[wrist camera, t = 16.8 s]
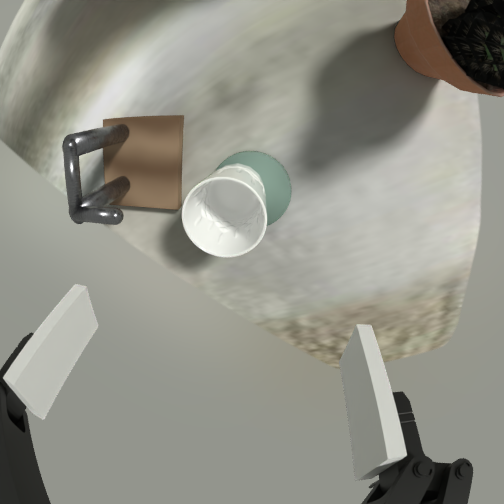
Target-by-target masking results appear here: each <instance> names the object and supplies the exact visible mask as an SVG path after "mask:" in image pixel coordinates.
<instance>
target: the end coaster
mask: <svg viewBox="0 0 504 504" xmlns="http://www.w3.org/2000/svg"><path fill="white" fill-rule="evenodd" d="M236 163H239V164H243V165H246V166H250V167H251V168H252V169H253V170H255V171H256V172H257V173H258V174H259V175H260V177H261V180H262V182H263V184H264V190H265V195H266V205H267V226H268V225H270V224H272V223H274V222H275V221H277V220H278V219H279V218H280V217H281V216H282V215H283V214H284V212H285V211H286V209H287V207H288V205H289V202H290V198H291V184H290V179H289V177H288V174H287V172H286V170H285V169H284V168H283V166H282V165H281V164H280V163H279V162H278V161H277V160H276V159H274V158H273V157H271V156H269V155H267V154H264V153H261V152H256V151H245V152H240V153H237V154H234V155H232V156H230V157H228V158H227V159H226V160H224V161H223V162H222V163H221V164H220V165H219V167H218V168H217V169H216V171H217V170H218V169H221V168H222V167H224V166H225V165H230V164H236Z"/></svg>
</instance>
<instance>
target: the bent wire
mask: <svg viewBox="0 0 504 504" xmlns="http://www.w3.org/2000/svg"><path fill="white" fill-rule="evenodd" d="M128 137H129V128H128V127H127V126H126V125H125V124H119V125H113V126H107V127H102V128H97V129H92V130H88V131H83V132H79V133H74V134H70V135H68V136H66V137H65V139H64V141H63V146H62V147H63V152H64V167H65V178H66V188H67V196H68V204H69V214H70V217H71V219H72V220H73V221H74V222H75V223H77V224H82V223H83V222H93V223H102V224H113V225H117V224H119V223H121V222H122V220H123V212H122V211H121V210H120V209H118V208H109V207H106V206H107V205H109V204H110V203H111V202H113V201H114V200H116V199H117V198H119V197H120V196H122V195H123V194H125V193H126V192H128V191H129V189H130V181H129V179H128V178H127V177H125V176H120V177H118V178H116V179H114V180H112V181H110V182H108V183H107V184H105V185H103V186H101V187H99V188H97V189H96V190H94V191H92V192H90V193H89V194H87V195H85V196H83V197H82V191H81V180H80V168H79V156H80V155H83V154H86V153H89V152H92V151H95V150H98V149H101V148H104V147H107V146H110V145H114V144H117V143H121V142H124V141H126V140H127V139H128Z"/></svg>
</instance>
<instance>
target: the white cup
mask: <svg viewBox="0 0 504 504" xmlns="http://www.w3.org/2000/svg"><path fill="white" fill-rule="evenodd" d="M182 222H183V226H184V229H185V232H186V234H187V235H188V237H189V238H190V240H191V241H192V242H193V243H194V244H195V245H196V246H197V247H198V248H200V249H201V250H203V251H204V252H206V253H208V254H211V255H214V256H218V257H236V256H240V255H243V254H245V253H247V252H249V251H250V250H252V249H253V248H254V247H255V246H256V245H257V244H258V243H259V242H260V241H261V239H262V237H263V235H264V233H265V230H266V226H267V205H266V195H265V190H264V184H263V182H262V180H261V177H260V175H259V174H258V173H257V172H256V171H255V170H253V169H252V168H251V167H250V166H246V165H243V164H239V163H236V164H230V165H225V166H224V167H222V168H221V169H218V170H217V171H215V172H213V173H212V174H210V175H209V176H208V177H207V178H205V179H204V180H203V181H201V182H200V183H199V184H197V185H196V186H195V187H194V188H193V189H192V190H191V191H190V192H189V193H188V195H187V197H186V199H185V201H184V203H183V207H182Z"/></svg>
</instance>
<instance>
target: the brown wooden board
mask: <svg viewBox="0 0 504 504" xmlns="http://www.w3.org/2000/svg"><path fill="white" fill-rule="evenodd" d="M119 124H125V125H126V126H127V127H128V128H129V137H128V139H127V140H126V141H124V142H121V143H117V144H114V145H110V146H107V147H104V148H103V157H104V177H105V184H107V183H108V182H110V181H112V180H114V179H116V178H118V177H120V176H125V177H127V178H128V179H129V181H130V189H129V191H128V192H126V193H125V194H123V195H122V196H120V197H119V198H117V199H116V200H114V201H113V202H111V203H110V204H109V205H123V206H137V207H150V208H163V209H175V210H178V209H179V208H180V207H181V190H182V146H183V124H184V115H174V116H141V117H125V118H113V119H104V120H103V127H107V126H113V125H119Z"/></svg>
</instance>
